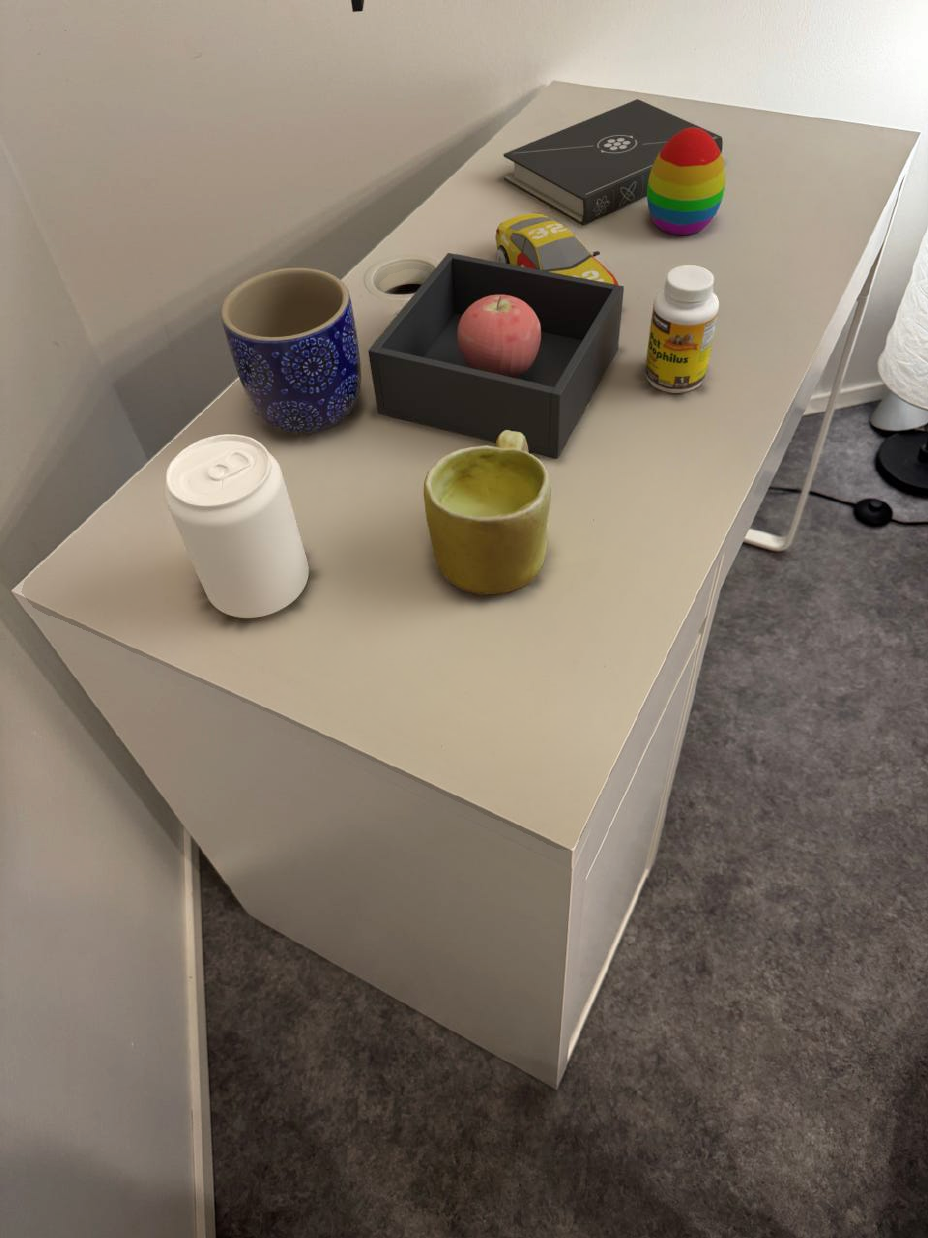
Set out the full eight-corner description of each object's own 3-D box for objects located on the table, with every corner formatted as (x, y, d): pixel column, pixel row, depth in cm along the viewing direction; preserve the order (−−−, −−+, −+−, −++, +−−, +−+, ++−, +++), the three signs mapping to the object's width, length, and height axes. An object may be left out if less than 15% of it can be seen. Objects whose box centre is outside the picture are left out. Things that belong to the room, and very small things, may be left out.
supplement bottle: (632, 381, 84) (643, 280, 76) (665, 352, 86) (679, 251, 78) (684, 404, 81) (701, 303, 73) (716, 373, 84) (736, 272, 76)
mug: (530, 621, 64) (502, 496, 59) (417, 603, 70) (382, 488, 65) (603, 536, 72) (584, 419, 67) (495, 527, 78) (470, 418, 73)
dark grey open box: (618, 349, 87) (624, 285, 81) (557, 458, 78) (560, 394, 72) (452, 314, 92) (447, 252, 86) (377, 413, 83) (367, 350, 77)
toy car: (562, 336, 88) (564, 291, 84) (484, 255, 98) (482, 211, 94) (629, 313, 90) (634, 268, 86) (546, 236, 100) (547, 192, 96)
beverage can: (188, 582, 71) (136, 469, 62) (272, 529, 74) (235, 414, 65) (244, 641, 67) (198, 529, 58) (331, 582, 70) (300, 467, 61)
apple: (488, 341, 87) (485, 265, 81) (554, 364, 84) (556, 287, 78) (444, 383, 84) (438, 306, 77) (511, 408, 81) (510, 331, 75)
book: (584, 226, 101) (586, 199, 99) (503, 178, 109) (502, 153, 106) (720, 163, 108) (725, 137, 106) (635, 123, 116) (637, 98, 114)
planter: (272, 369, 88) (243, 263, 79) (380, 376, 86) (364, 268, 77) (235, 443, 81) (200, 336, 72) (352, 453, 79) (330, 344, 71)
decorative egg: (699, 199, 103) (713, 106, 96) (730, 233, 98) (748, 139, 91) (632, 211, 102) (641, 119, 95) (660, 247, 97) (672, 153, 90)
